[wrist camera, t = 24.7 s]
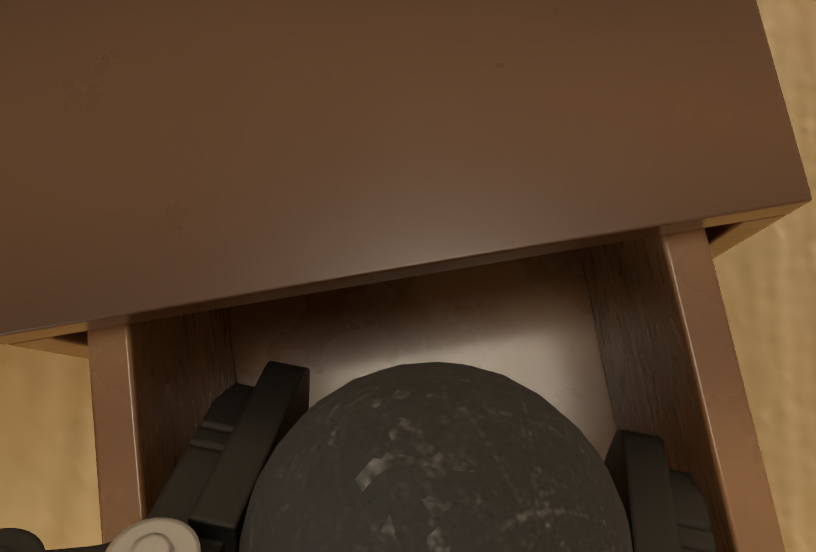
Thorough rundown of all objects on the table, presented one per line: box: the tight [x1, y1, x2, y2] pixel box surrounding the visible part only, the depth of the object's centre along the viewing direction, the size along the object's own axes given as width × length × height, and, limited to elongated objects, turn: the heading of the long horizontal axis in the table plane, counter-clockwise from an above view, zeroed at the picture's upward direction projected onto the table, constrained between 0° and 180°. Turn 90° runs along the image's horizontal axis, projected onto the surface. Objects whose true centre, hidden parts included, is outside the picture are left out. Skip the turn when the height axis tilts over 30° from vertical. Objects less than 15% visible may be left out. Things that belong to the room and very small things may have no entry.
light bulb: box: [239, 362, 633, 552], centre depth 13 cm, size 6×6×10 cm
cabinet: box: [0, 0, 812, 358], centre depth 18 cm, size 14×14×10 cm
